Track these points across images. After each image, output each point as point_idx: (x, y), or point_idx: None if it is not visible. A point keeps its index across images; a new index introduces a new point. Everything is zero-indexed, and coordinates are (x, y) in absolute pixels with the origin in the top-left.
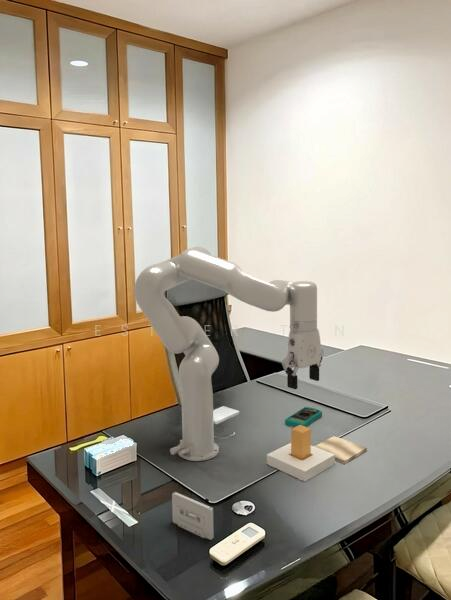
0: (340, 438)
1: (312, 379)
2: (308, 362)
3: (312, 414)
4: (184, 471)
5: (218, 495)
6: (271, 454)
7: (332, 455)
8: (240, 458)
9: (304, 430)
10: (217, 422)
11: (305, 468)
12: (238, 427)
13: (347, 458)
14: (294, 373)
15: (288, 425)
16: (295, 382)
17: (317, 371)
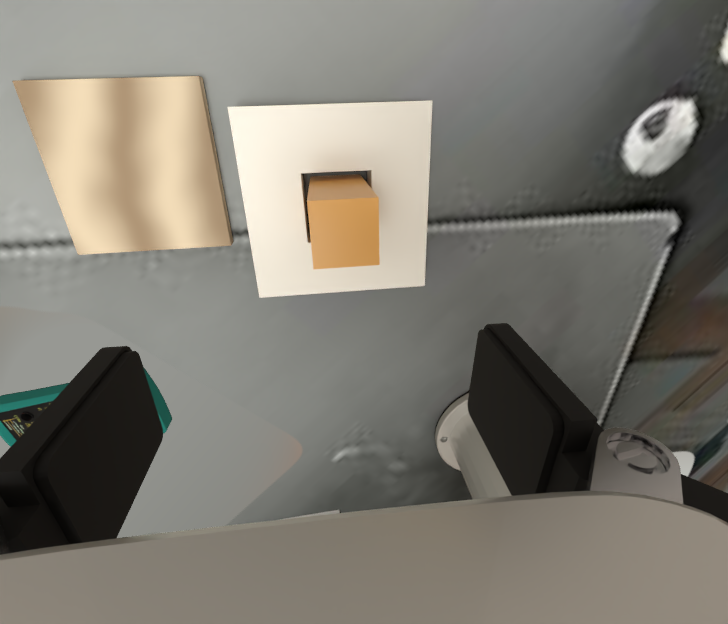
0: (67, 222)
1: (153, 404)
2: (457, 614)
3: (43, 409)
4: (583, 375)
5: (639, 235)
6: (412, 276)
7: (242, 109)
8: (441, 344)
9: (348, 209)
10: (334, 513)
11: (412, 116)
12: (305, 472)
13: (170, 81)
14: (627, 461)
15: (167, 409)
16: (538, 368)
17: (70, 429)
